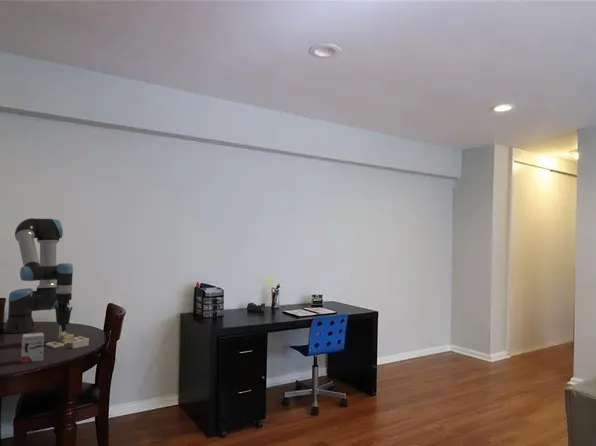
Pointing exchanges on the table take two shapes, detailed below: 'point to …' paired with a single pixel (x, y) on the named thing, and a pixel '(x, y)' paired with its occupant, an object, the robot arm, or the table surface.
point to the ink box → (32, 347)
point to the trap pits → (57, 344)
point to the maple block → (65, 338)
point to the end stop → (80, 343)
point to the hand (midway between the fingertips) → (62, 337)
